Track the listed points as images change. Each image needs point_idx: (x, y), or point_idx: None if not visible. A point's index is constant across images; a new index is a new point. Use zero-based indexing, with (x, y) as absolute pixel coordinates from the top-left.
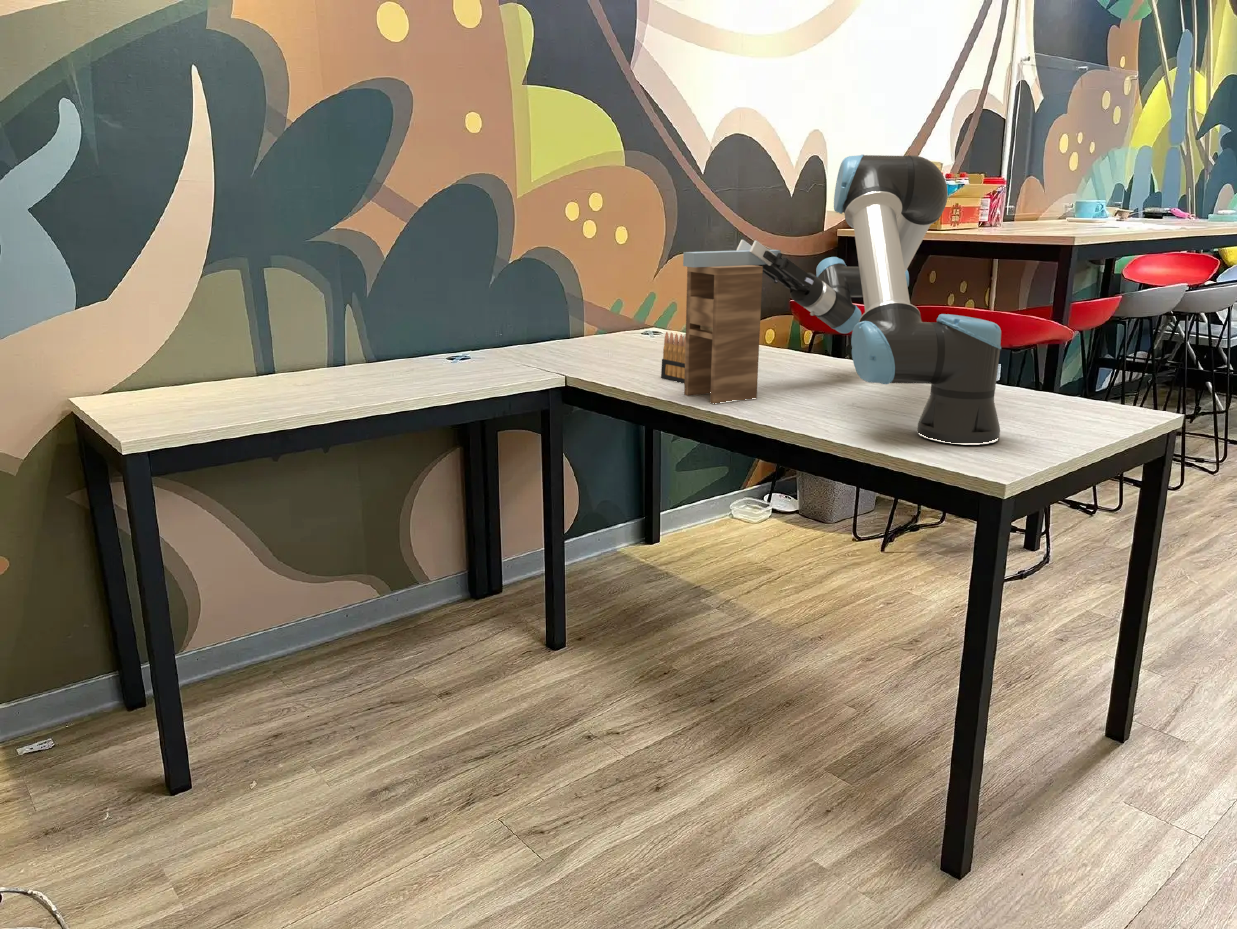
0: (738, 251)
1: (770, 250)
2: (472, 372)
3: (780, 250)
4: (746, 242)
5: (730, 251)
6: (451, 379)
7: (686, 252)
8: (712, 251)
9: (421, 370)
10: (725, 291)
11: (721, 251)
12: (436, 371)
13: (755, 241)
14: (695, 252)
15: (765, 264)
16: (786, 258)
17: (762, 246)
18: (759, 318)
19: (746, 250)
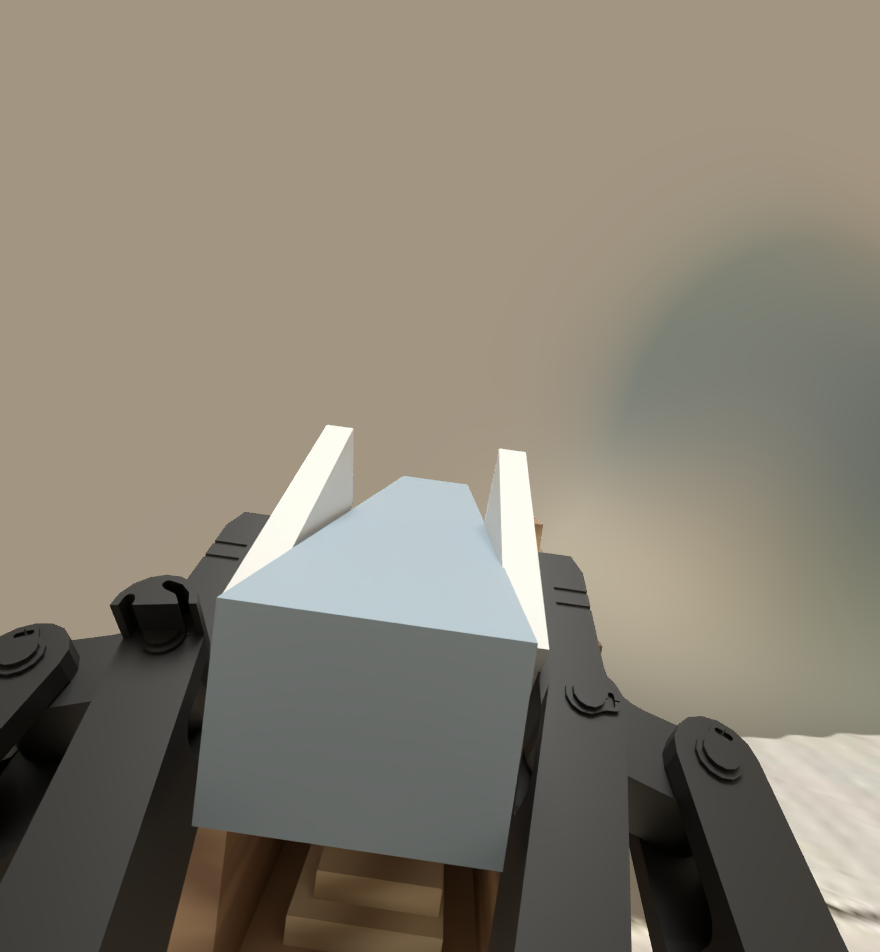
0: (394, 502)
1: (328, 563)
2: (851, 784)
3: (217, 599)
4: (497, 473)
5: (417, 499)
6: (758, 738)
7: (448, 482)
8: (459, 496)
9: (852, 742)
10: None
11: (441, 497)
12: (846, 752)
13: (337, 433)
14: (434, 482)
15: (508, 853)
16: (6, 635)
17: (301, 474)
18: (171, 937)
19: (458, 530)
